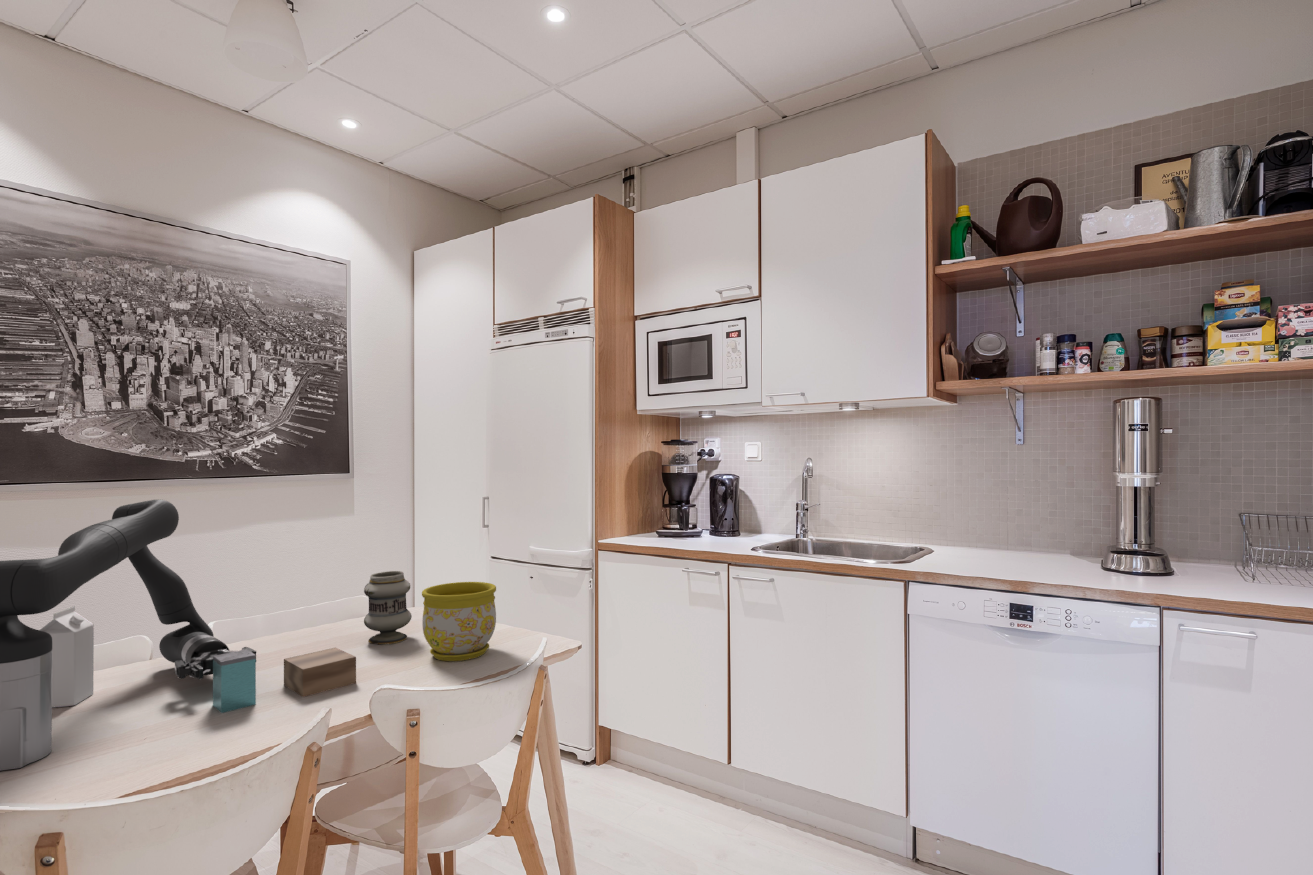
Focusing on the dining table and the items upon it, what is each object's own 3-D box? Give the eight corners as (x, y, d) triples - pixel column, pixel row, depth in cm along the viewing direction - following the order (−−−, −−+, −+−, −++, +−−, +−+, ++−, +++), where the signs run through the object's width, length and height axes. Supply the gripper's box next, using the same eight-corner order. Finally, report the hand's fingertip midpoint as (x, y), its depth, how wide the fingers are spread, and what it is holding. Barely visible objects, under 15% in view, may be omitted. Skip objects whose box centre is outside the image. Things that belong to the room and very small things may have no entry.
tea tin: (255, 704, 134) (255, 654, 134) (221, 713, 130) (221, 661, 130) (246, 697, 138) (246, 649, 139) (212, 705, 134) (213, 655, 134)
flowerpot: (478, 666, 156) (478, 596, 157) (408, 663, 159) (407, 595, 159) (507, 644, 174) (507, 581, 174) (443, 642, 177) (443, 580, 177)
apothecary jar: (353, 644, 176) (353, 576, 177) (382, 632, 188) (382, 568, 188) (393, 647, 173) (393, 578, 174) (420, 634, 185) (420, 570, 185)
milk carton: (32, 710, 133) (32, 615, 133) (53, 697, 140) (54, 607, 140) (74, 706, 135) (74, 612, 135) (93, 694, 142) (94, 604, 142)
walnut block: (356, 683, 146) (356, 656, 146) (303, 698, 138) (302, 669, 138) (335, 673, 154) (335, 647, 154) (283, 686, 145) (283, 658, 146)
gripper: (166, 644, 144) (184, 658, 133) (240, 630, 155) (263, 643, 144) (166, 678, 144) (184, 696, 133) (240, 663, 154) (263, 678, 143)
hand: (225, 668), depth 138 cm, fingers open, 8 cm apart
